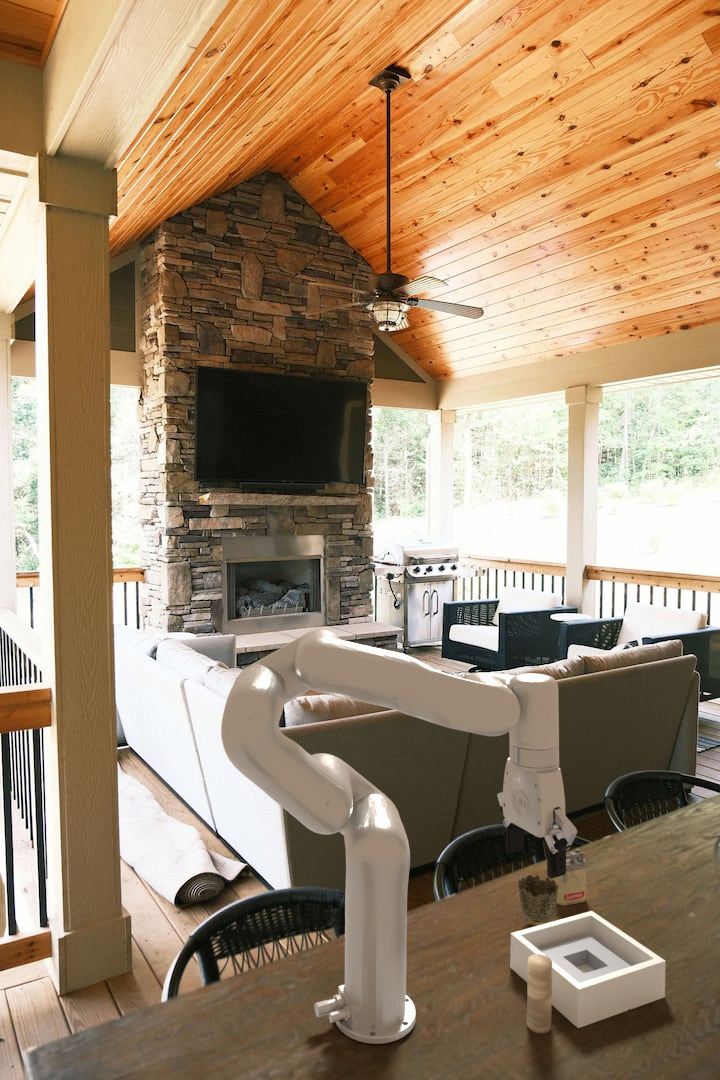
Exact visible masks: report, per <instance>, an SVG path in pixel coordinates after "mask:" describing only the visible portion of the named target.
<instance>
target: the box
mask: <svg viewBox="0 0 720 1080" xmlns="http://www.w3.org/2000/svg"><path fill="white" fill-rule="evenodd" d="M509 952H510V953H509V955H510V957H509V959H510V963H509V966H510V969H511V970H513V971H514V972H515V974H517V975H518V976H519V977H520V978H522V980H523V981H525V982H526V983H527V984H528V958H529V956H531V955H534V954H541V955H545V956H547V957H549V958H550V959H551V960H552V1005H551V1006H552V1007H554V1008H555V1009H556V1010H557V1011H558V1012H559V1013H561V1015H562V1016H564V1017H565V1018H566V1019H567V1020H568V1021H569V1022H570V1023H571V1024H573V1025H574V1026H575V1027H576V1028H577V1029H580V1028H583V1027H585V1026H588V1025H592V1024H593V1023H596V1022H599V1021H602V1020H605V1019H607V1018H611V1017H613V1016H616V1015H620V1014H621V1013H625V1012H627V1011H629V1009H630V1010H633V1009H636V1008H638V1007H641V1006H644V1005H646V1004H649V1003H652V1002H655V1001H657V1000H661V999H664V998H665V997H666V963H667V962H666V960H665V959H663V958H662V957H661V956H659V955H657V954H656V953H654V951H651V950H650V948H648V947H647V946H644V945H643V944H641V943H640V942H638V941H637V940H636V939H634V938H633V937H631V936H630V935H628V934H627V933H625V932H623V931H622V930H621V929H619V927H616V926H615V925H613V924H612V923H611V922H609V921H608V920H606V919H605V918H603V917H601V916H600V915H599V914H597V913H596V912H594V911H593V910H588V911H586V912H582V913H579V914H576V915H572V916H569V917H564V918H560V919H557V920H554V921H549V922H548V923H546V924H542V925H538V926H535V927H532V926H531V927H527V928H524V929H522V930H517V931H514V932H510V950H509Z"/></svg>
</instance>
